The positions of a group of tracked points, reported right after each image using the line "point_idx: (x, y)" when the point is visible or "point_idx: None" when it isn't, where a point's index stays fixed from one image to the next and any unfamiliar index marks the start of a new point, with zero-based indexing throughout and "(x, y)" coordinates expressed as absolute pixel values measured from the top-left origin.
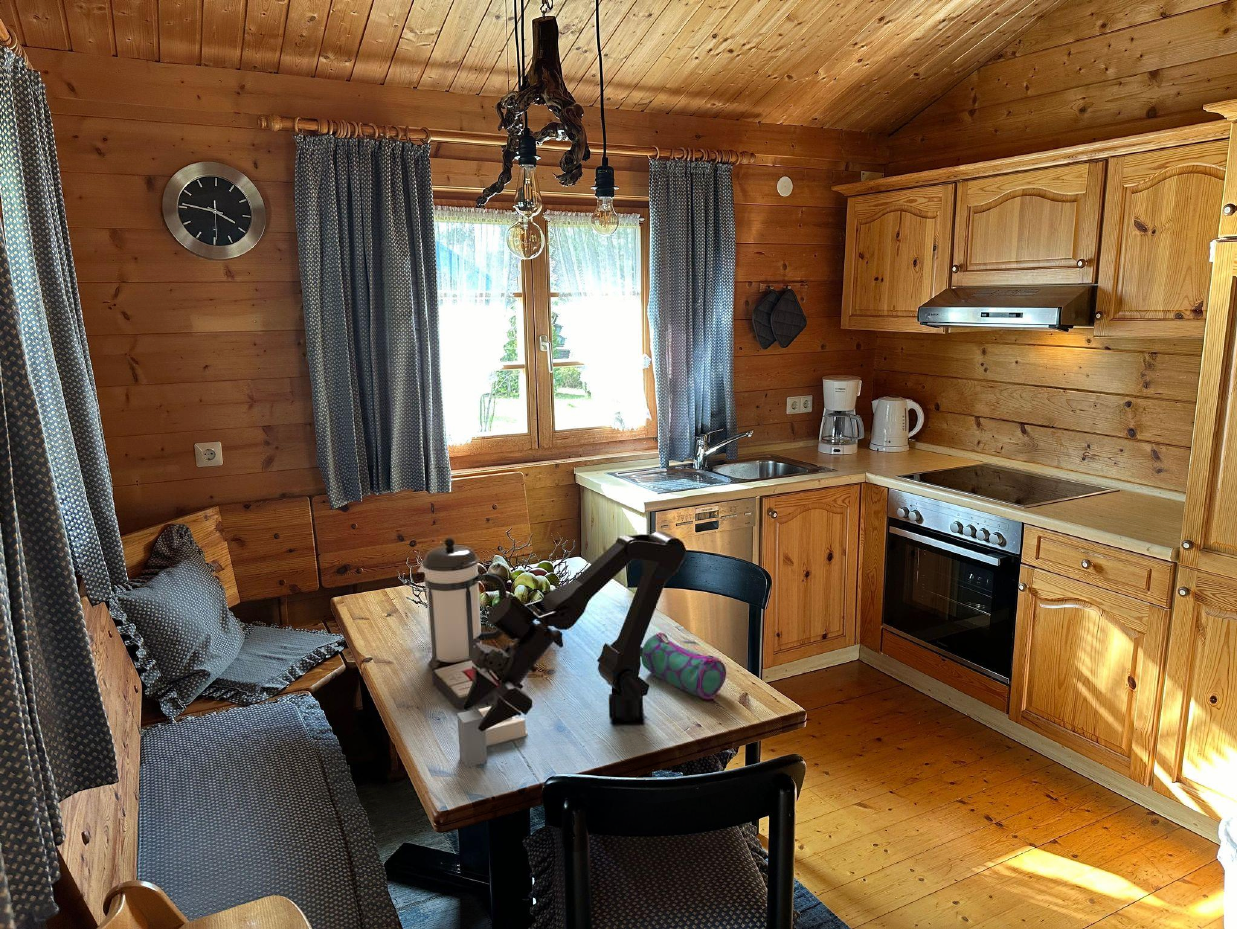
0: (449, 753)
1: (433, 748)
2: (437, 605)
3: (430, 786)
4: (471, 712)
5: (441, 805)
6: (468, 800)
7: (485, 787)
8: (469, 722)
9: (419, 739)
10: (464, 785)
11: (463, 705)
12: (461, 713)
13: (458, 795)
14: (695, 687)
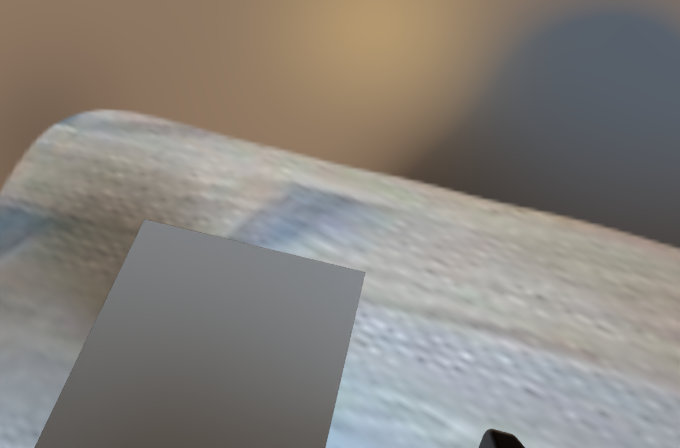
0: (419, 340)
1: (515, 304)
2: None
3: (228, 145)
4: (273, 414)
5: (82, 114)
6: (10, 197)
7: (13, 304)
8: (123, 282)
9: (642, 297)
10: (115, 243)
11: (511, 443)
12: (336, 310)
13: (77, 188)
14: None
